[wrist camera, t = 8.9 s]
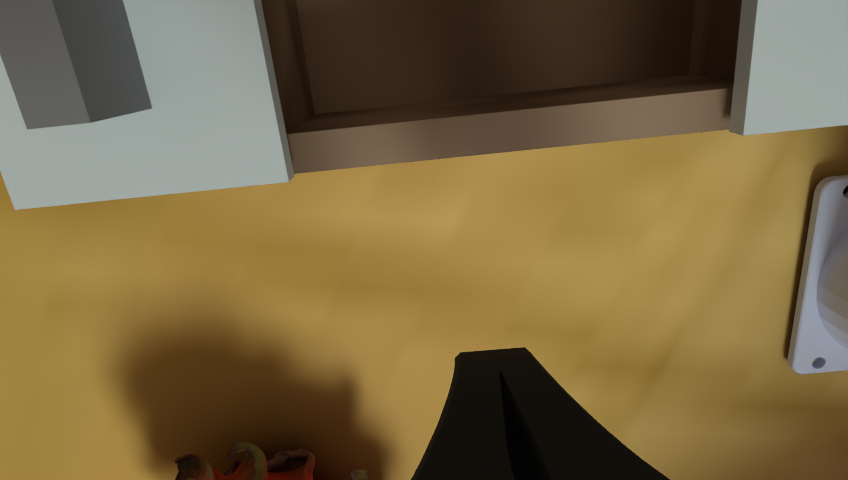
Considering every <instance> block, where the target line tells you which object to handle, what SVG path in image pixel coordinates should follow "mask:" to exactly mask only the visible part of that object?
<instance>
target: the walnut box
mask: <svg viewBox="0 0 848 480" xmlns="http://www.w3.org/2000/svg"><path fill="white" fill-rule="evenodd" d="M261 3H262V9H263V14H264V19H265V24H266V30H267V35H268V40H269V45H270V51H271V56H272V61H273V66H274V72H275V77H276V82H277V88H278V93H279V98H280V103H281V109H282V114H283V119H284V124H285V130H286V135H287V140H288V145H289V151H290V156H291V161H292V166H293V172H294V174H296V173H306V172H315V171H325V170H335V169H345V168H354V167H364V166H374V165H384V164H394V163H403V162H413V161H423V160H433V159H442V158H452V157H462V156H472V155H482V154H491V153H501V152H511V151H521V150H530V149H540V148H550V147H560V146H570V145H579V144H589V143H599V142H609V141H618V140H628V139H638V138H648V137H658V136H667V135H677V134H687V133H697V132H707V131H716V130H726V129H729V127H730V117H731V107H732V97H733V86H734V76H735V66H736V56H737V46H738V36H739V25H740V15H741V5H742V0H261Z"/></svg>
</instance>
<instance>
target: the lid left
mask: <svg viewBox="0 0 848 480" xmlns="http://www.w3.org/2000/svg"><path fill="white" fill-rule="evenodd" d="M0 172H1V174H2V177H3V180H4V182H5V185H6V187H7V190H8V193H9V195H10V198H11V200H12V203H13V206H14V208H15V210H18V209H28V208H37V207H47V206H57V205H67V204H77V203H86V202H96V201H106V200H116V199H126V198H136V197H145V196H155V195H165V194H175V193H185V192H194V191H204V190H214V189H224V188H234V187H244V186H253V185H263V184H273V183H283V182H289V181H290V180H291V179H292V178H293V177H294V172H293V166H292V161H291V156H290V151H289V145H288V140H287V135H286V130H285V124H284V119H283V114H282V109H281V103H280V98H279V93H278V88H277V82H276V77H275V72H274V66H273V61H272V56H271V51H270V45H269V40H268V35H267V30H266V24H265V19H264V14H263V9H262V3H261V0H0Z"/></svg>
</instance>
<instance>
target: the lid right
mask: <svg viewBox="0 0 848 480" xmlns="http://www.w3.org/2000/svg"><path fill="white" fill-rule="evenodd" d="M842 125H848V0H742V5H741V15H740V25H739V36H738V46H737V56H736V66H735V76H734V86H733V97H732V107H731V117H730V127H729V132H732V133H736V134H739V135H743V136H744V135H754V134H764V133H774V132H783V131H793V130H803V129H813V128H823V127H832V126H842Z"/></svg>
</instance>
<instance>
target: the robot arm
mask: <svg viewBox="0 0 848 480" xmlns="http://www.w3.org/2000/svg"><path fill="white" fill-rule="evenodd" d="M846 186H848V175H840V176H831V177H827V178H825V179H823V180H822V181H820V182H819V184H818V185H817V186H816V189H815V191H814V197H813V204H812V210H811V216H810V222H809V229H808V235H807V241H806V247H805V254H804V260H803V266H802V272H801V279H800V285H799V291H798V297H797V304H796V310H795V316H794V322H793V329H792V335H791V341H790V347H789V354H788V360H787V362H788V366H789V367H790V368H791V369H792V370H793V371H794V372H796V373H798V374H811V373H822V372H833V371H845V370H848V192H847V193H846V194H844V195H843V191H844V188H845V187H846ZM816 358H818V359H817V360H816V361H815V362H813V361H814V360H815V359H816ZM411 480H670V479H668V478H667V477H666V476H664V475H663V474H662V473H660V472H659V471H657V470H656V469H655V468H653V467H652V466H650V465H649V464H648V463H646V462H645V461H644V460H642V459H641V458H640V457H638V456H637V455H636V454H635V453H633V452H632V451H631V450H630V449H629V448H627V447H626V446H625V445H624V444H623V443H621V442H620V441H619V440H618V439H617V438H616V437H614V436H613V435H612V434H611V433H610V432H609V431H607V430H606V429H605V428H604V427H603V426H602V425H601V424H600V423H598V422H597V421H596V420H595V419H594V418H593V417H592V416H591V415H590V414H589V413H588V412H587V411H586V410H585V409H584V408H583V407H581V406H580V405H579V404H578V403H577V402H576V401H575V400H574V399H573V398H572V397H571V396H570V395H569V394H568V393H567V392H566V391H565V390H564V389H563V388H562V387H561V386H560V385H559V384H558V383H557V381H556V380H555V379H554V378H553V377H552V376H551V375H550V374H549V373H548V372H547V371H546V370H545V368H544V367H543V366H542V365H541V364H540V363H539V362H538V361H537V359H536V358H535V357H534V356H533V355H532V354H531V352H529V351H528V350H527V349H526V348H525V347H524V348H511V349H498V350H486V351H473V352H460V354H459V355H458V356H457V357H456V358H455V368H454V375H453V379H452V383H451V387H450V390H449V394H448V397H447V400H446V403H445V405H444V408H443V411H442V414H441V417H440V419H439V422H438V425H437V427H436V429H435V431H434V434H433V436H432V438H431V440H430V442H429V445H428V447H427V449H426V451H425V453H424V456H423V458H422V460H421V462H420V464H419V466H418V468H417V469H416V471H415V473H414V475H413V477H412V479H411Z"/></svg>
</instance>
